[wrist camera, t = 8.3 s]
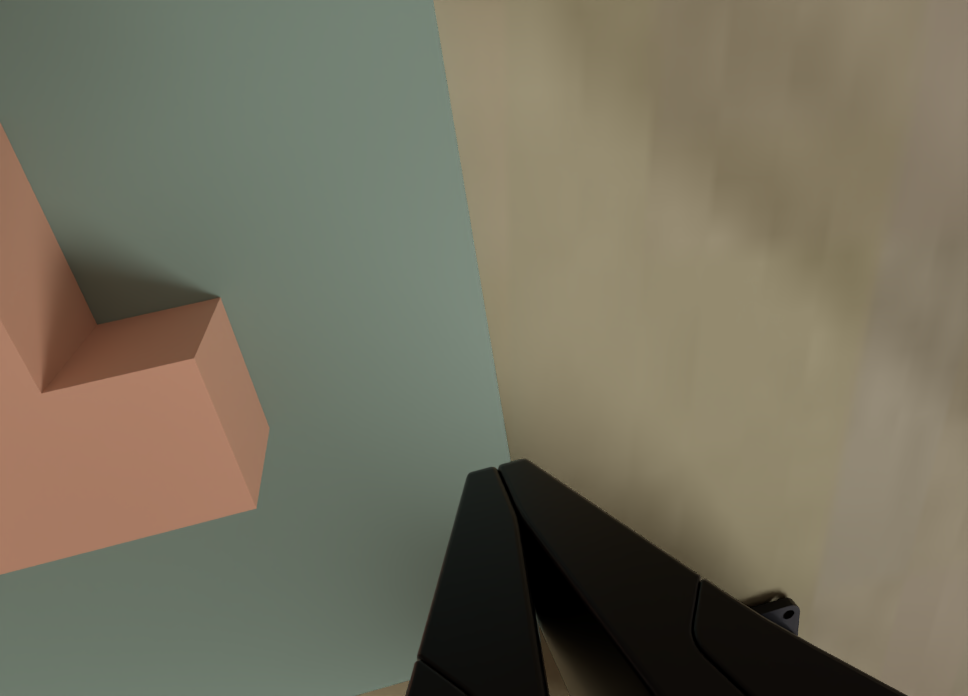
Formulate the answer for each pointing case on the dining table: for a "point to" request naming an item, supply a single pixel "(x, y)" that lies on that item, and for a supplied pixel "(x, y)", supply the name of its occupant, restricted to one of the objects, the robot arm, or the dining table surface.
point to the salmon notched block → (110, 406)
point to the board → (263, 329)
